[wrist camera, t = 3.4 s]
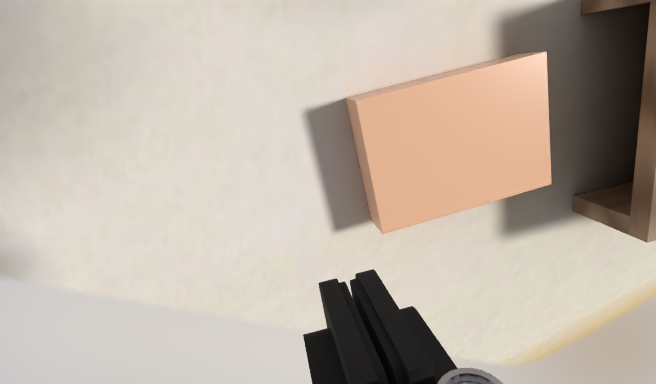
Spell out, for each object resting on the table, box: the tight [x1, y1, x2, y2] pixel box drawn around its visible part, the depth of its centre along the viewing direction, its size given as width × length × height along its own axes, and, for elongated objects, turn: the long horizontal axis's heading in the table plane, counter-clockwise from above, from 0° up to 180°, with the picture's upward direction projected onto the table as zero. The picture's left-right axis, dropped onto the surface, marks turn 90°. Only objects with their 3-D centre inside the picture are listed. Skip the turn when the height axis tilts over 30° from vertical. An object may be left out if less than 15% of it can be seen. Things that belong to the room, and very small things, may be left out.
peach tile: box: [346, 52, 552, 234], centre depth 29 cm, size 10×14×4 cm
